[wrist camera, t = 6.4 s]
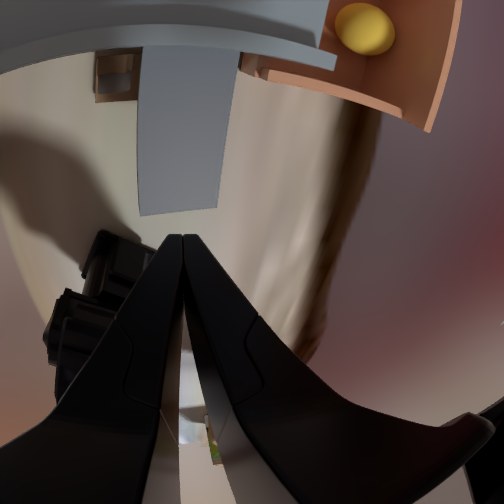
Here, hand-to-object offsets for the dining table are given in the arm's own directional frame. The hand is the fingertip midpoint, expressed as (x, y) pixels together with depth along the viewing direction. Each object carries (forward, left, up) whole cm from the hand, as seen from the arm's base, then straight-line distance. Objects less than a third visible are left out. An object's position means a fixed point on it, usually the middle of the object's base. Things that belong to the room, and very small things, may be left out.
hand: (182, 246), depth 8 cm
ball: (+13, -4, -10) cm, 17 cm away
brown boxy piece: (+12, -2, -13) cm, 18 cm away
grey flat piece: (+2, +7, -6) cm, 9 cm away
